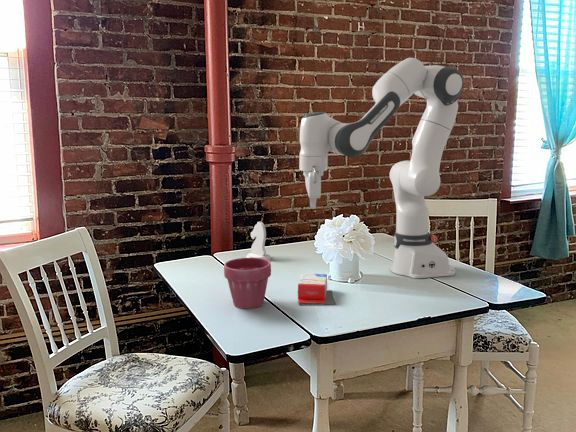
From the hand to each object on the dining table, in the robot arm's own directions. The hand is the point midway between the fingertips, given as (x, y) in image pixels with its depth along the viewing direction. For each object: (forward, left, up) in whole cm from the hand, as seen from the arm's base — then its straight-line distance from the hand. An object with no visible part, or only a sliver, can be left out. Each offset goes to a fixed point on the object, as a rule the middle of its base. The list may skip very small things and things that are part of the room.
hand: (312, 207), depth 182 cm
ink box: (0, +1, -24) cm, 24 cm away
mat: (0, +9, -27) cm, 28 cm away
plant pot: (+21, +13, -27) cm, 36 cm away
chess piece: (+19, -37, -27) cm, 49 cm away
